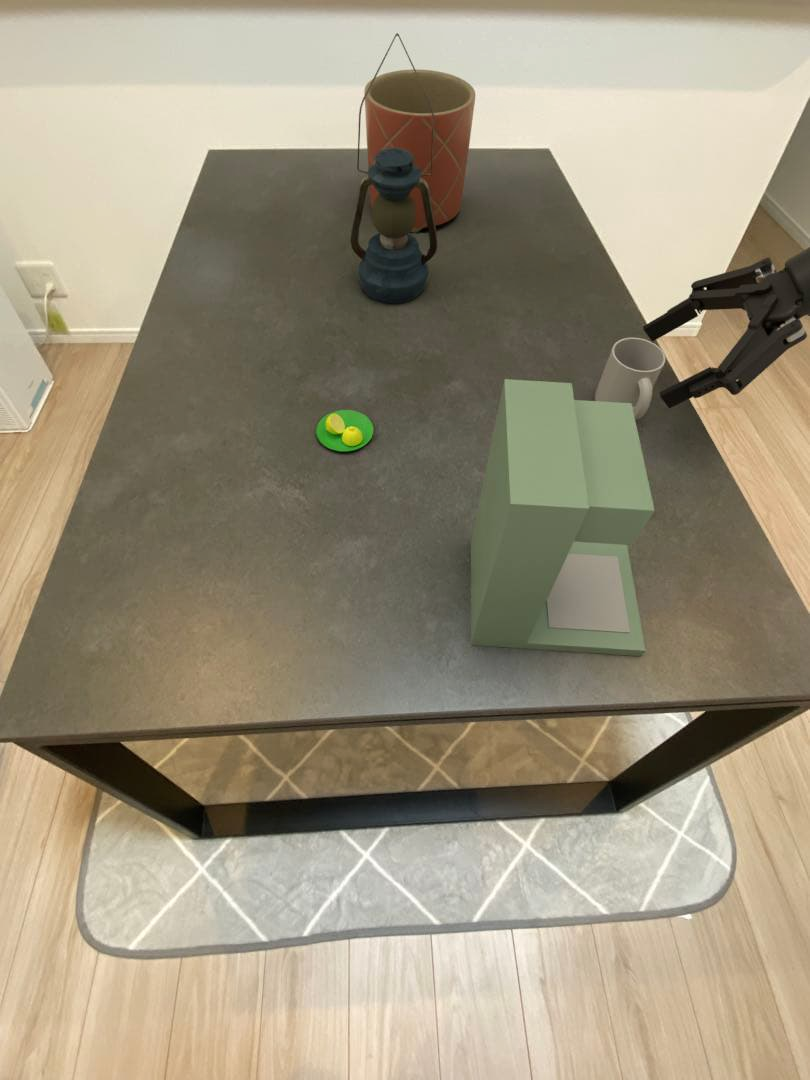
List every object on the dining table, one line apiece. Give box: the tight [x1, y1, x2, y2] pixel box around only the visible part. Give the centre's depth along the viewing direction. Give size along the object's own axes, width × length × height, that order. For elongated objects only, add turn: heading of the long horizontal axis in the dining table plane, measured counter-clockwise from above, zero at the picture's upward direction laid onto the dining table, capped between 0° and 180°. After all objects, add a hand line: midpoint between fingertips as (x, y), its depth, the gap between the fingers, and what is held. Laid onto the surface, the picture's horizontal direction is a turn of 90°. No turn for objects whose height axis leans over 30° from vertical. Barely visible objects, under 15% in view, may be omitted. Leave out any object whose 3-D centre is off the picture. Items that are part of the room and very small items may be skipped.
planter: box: [363, 69, 476, 234], centre depth 111 cm, size 19×19×20 cm
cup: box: [594, 337, 666, 421], centre depth 85 cm, size 7×10×9 cm
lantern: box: [350, 33, 438, 304], centre depth 90 cm, size 14×12×35 cm
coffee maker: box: [470, 378, 656, 657], centre depth 60 cm, size 19×14×26 cm
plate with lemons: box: [315, 409, 374, 452], centre depth 84 cm, size 8×8×3 cm
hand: (655, 366), depth 82 cm, fingers open, 13 cm apart
